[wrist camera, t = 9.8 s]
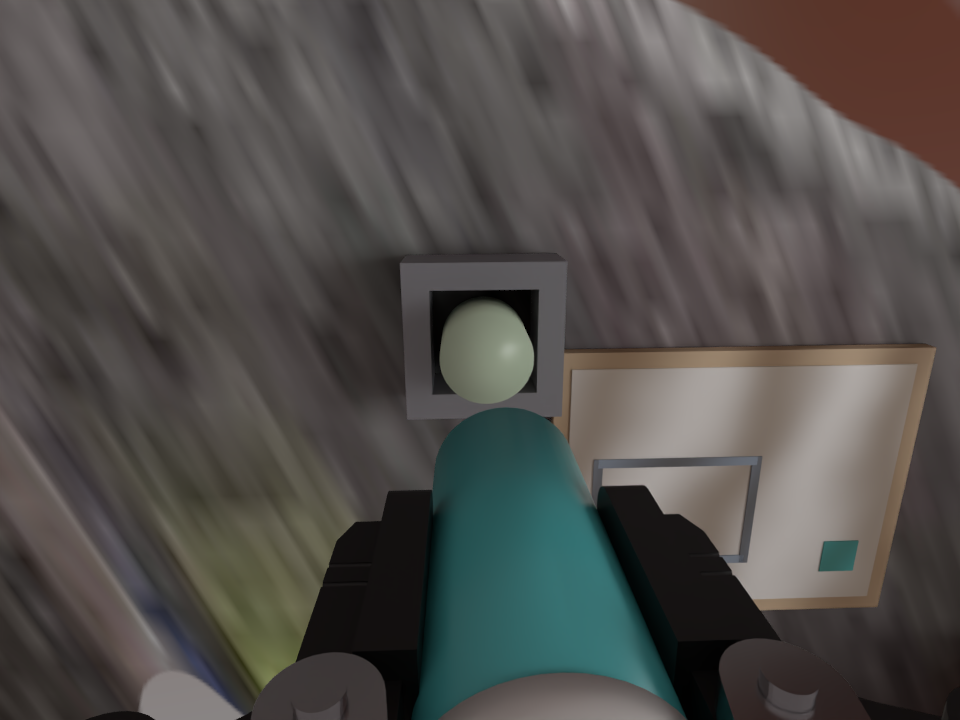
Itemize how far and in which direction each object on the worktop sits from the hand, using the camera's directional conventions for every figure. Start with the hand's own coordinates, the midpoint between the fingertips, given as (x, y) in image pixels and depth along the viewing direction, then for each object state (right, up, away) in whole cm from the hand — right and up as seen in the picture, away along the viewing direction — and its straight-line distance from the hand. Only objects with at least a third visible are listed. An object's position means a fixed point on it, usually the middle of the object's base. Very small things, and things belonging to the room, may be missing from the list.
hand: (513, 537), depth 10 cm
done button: (0, +4, +13) cm, 13 cm away
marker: (0, +1, +4) cm, 4 cm away
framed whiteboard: (+11, -3, +17) cm, 20 cm away
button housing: (0, +4, +14) cm, 15 cm away
